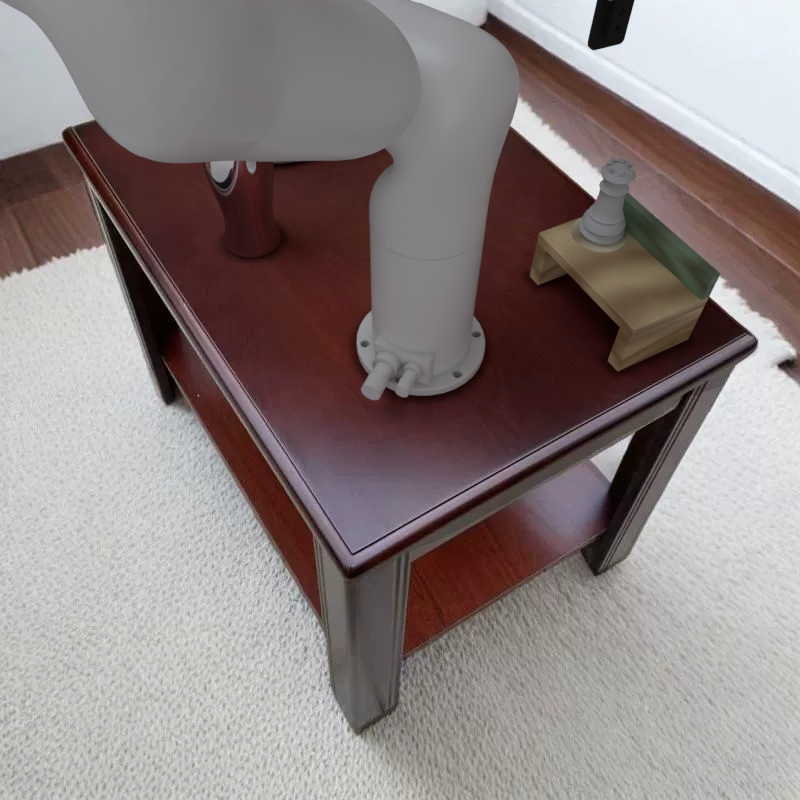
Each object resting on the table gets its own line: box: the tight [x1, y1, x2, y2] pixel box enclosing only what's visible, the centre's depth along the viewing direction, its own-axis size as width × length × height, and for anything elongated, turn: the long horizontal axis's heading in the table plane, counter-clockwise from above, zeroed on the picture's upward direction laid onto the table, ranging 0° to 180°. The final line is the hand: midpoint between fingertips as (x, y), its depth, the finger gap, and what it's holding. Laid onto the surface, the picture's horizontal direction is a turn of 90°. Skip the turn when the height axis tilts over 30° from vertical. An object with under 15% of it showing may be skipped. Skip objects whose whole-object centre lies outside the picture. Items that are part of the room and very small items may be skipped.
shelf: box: [529, 192, 721, 372], centre depth 72 cm, size 15×9×9 cm, turn 28°
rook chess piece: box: [579, 156, 637, 245], centre depth 71 cm, size 4×4×8 cm
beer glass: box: [202, 161, 281, 259], centre depth 75 cm, size 7×7×15 cm
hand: (571, 18), depth 61 cm, fingers open, 9 cm apart
